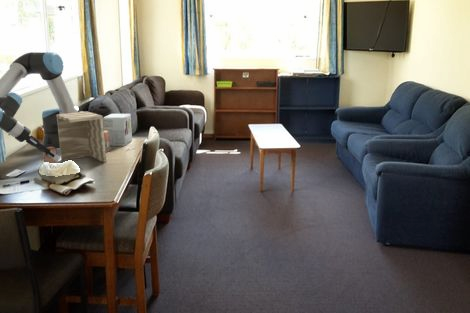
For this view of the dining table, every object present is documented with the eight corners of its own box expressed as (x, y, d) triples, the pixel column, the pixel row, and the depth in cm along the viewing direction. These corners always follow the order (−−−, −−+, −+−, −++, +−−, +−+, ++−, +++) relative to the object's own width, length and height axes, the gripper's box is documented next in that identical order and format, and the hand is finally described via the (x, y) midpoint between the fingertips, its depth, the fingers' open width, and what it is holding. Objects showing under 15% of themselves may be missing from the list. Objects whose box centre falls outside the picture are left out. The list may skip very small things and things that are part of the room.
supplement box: (125, 146, 290) (123, 117, 286) (104, 146, 291) (102, 117, 286) (133, 140, 307) (131, 113, 302) (113, 140, 308) (111, 113, 303)
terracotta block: (44, 166, 241) (42, 147, 239) (54, 164, 244) (52, 146, 242) (47, 168, 237) (45, 149, 235) (57, 166, 240) (55, 148, 238)
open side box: (61, 160, 258) (56, 114, 251) (91, 155, 268) (87, 111, 262) (75, 167, 242) (70, 119, 236) (106, 162, 252) (102, 115, 246)
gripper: (9, 135, 234) (46, 161, 248) (19, 140, 220) (57, 167, 234) (19, 123, 236) (55, 149, 250) (29, 128, 222) (67, 156, 236)
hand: (56, 158), depth 242 cm, fingers closed on terracotta block, 5 cm apart
